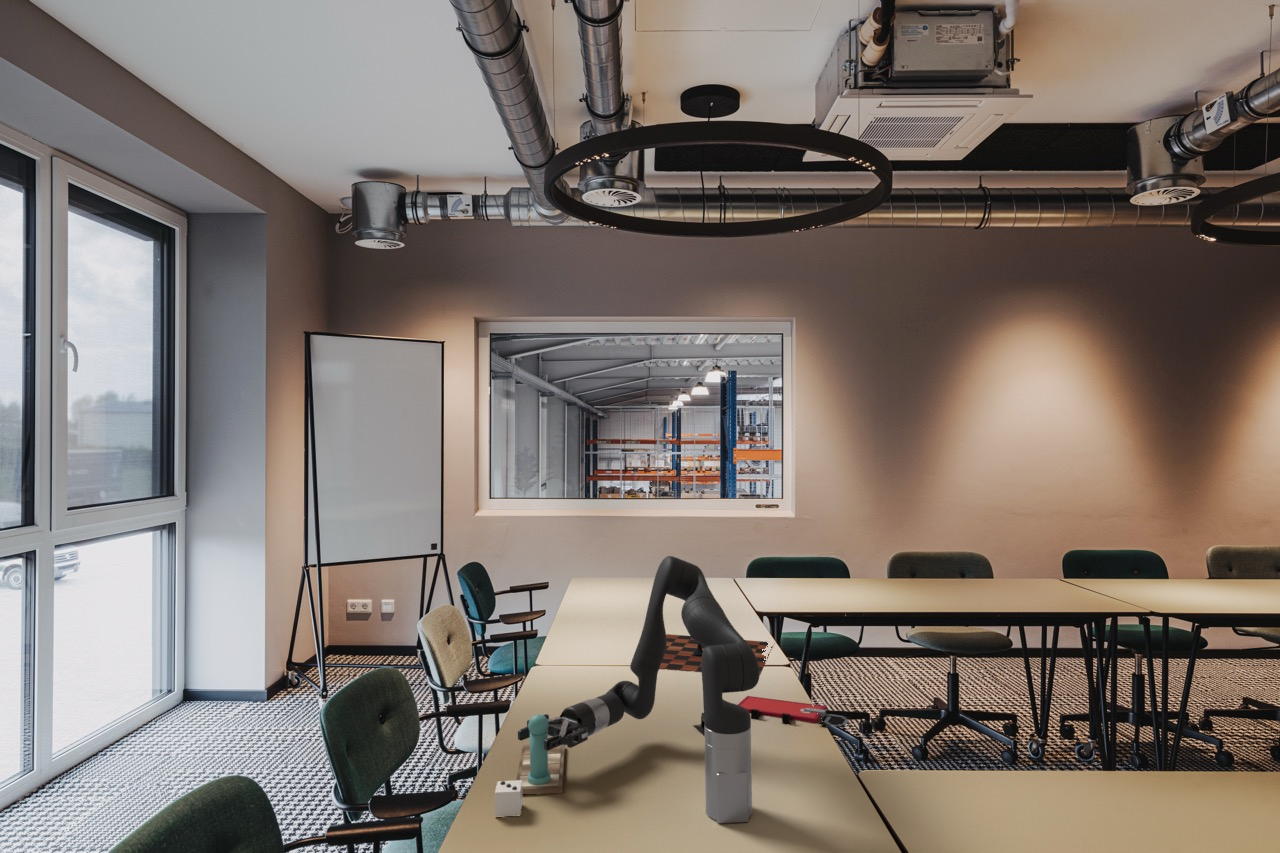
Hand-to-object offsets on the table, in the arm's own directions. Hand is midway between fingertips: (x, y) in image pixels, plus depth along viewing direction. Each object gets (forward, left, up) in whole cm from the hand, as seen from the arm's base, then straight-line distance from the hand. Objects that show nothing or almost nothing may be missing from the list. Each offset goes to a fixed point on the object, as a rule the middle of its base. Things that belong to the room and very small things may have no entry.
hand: (531, 740), depth 166 cm
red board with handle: (+37, -67, -11) cm, 77 cm away
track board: (+10, -1, -10) cm, 14 cm away
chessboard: (+95, -54, -11) cm, 110 cm away
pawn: (+1, -1, -9) cm, 9 cm away
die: (-9, +4, -10) cm, 14 cm away
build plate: (+29, -43, -11) cm, 53 cm away
